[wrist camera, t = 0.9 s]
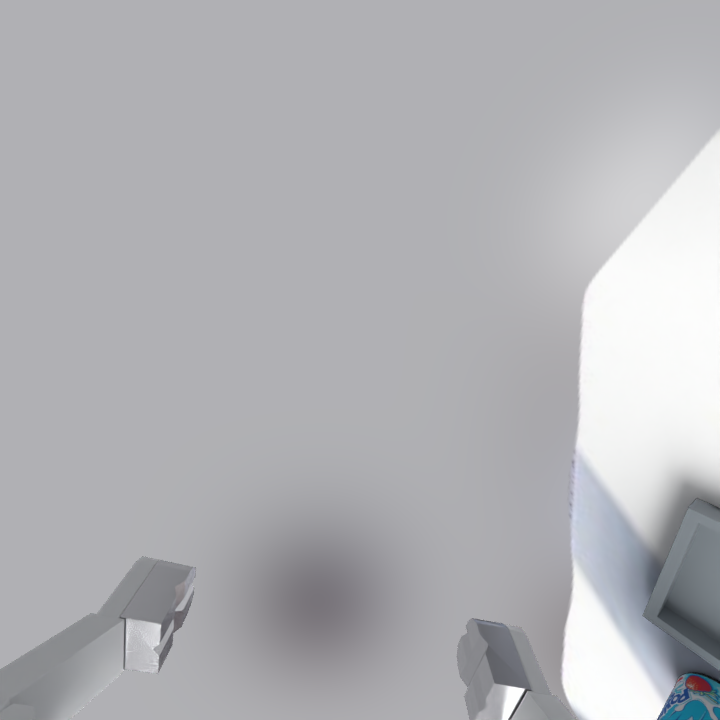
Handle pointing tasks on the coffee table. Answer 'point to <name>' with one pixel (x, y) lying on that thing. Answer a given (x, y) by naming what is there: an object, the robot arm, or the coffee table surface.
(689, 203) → the coffee table surface
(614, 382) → the coffee table surface
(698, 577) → the box
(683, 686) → the beverage can
